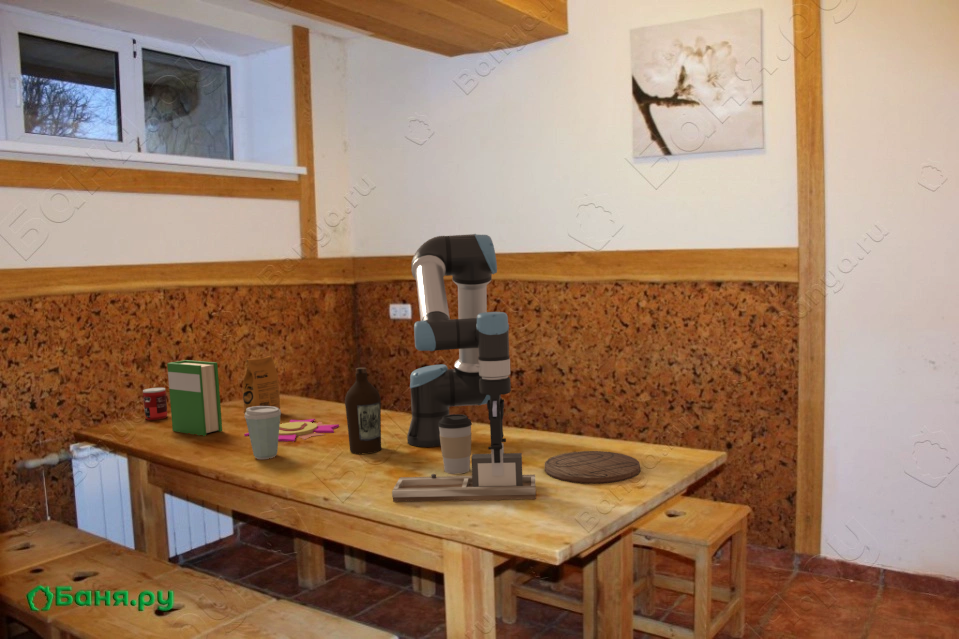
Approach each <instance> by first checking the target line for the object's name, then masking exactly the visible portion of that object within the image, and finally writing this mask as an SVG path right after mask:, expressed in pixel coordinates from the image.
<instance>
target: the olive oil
mask: <svg viewBox="0 0 959 639" xmlns="http://www.w3.org/2000/svg"><path fill="white" fill-rule="evenodd" d="M381 400H382V399H381V394H380V392H379V390H378V389H377V388H376V387H375V386H374V385H373V384H372V383H371V382H370V381H368V372H367V368H366V367H365V366H364V367H357V368H355V381H354V383H353V384H352V385H351V386H350V388H349V389H348V390H347V392H346V394H345V398H344V406H345V413H346V414H345V416H346V421H347V422H346V423H347V432H348V445H349V452H350V453H352V454H355V453H356V455H357V454H358V455H363V454H362V453H368V454H374V453H377V452H379V451H381V449H382V420H381V419H382V416H381V414H382V413H381V412H382V410H381V406H382V404H381V402H382V401H381ZM359 453H360V454H359Z"/></svg>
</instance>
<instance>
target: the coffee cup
mask: <svg viewBox="0 0 959 639" xmlns="http://www.w3.org/2000/svg"><path fill="white" fill-rule="evenodd" d="M472 425H473V423H472V420H471V419H470V418H469V417H468V415H466V414H461V413H460V414H459V413H458V414H457V413H455V414H454V413H453V414H449V415H446V416H443V417H442V420H440V421H439V425H438V426H439V430H440V443H441V446H440V449H441V456H442V463H443V468H444V469H443V470H444V471H443V472H445V473H447V474H452V475H458V474H464V473H465V474H466V473H468V472H469V471H470V469H471V456H472Z"/></svg>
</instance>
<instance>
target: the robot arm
mask: <svg viewBox="0 0 959 639" xmlns="http://www.w3.org/2000/svg"><path fill="white" fill-rule="evenodd" d="M497 273H498V264H497V256H496V252H495V246H494V242H493V239H492V237H491V236H489V234H476V233H473V234H472V233H471V234H456V235H455V234H453V235H438V236H434V237H431V238H430V239H428V240H427V241H425V242H423V243H422V244H421V245H420V246H419V247H418V249H417V250H416V251H415V253H414V255H413V257H412V260H411V275H412V278H413V279H414V280H415V281H416V289H417V299H418V307H419V308H418V310H419V311H418V312H419V317H420V318H419V319H420V320H417V321H415V322H414V325H413V332H414V333H413V334H414V336H413V337H414V348H415V349H416V350H417V351H419V352H422V351H427V352H428V351H429V352H434V351H436V352H437V351H447V350H448V351H449V350H458V353H459V354H458V359H457V360H456V361H455V362H454V368H448V366H447V365H446V364H433V365H426V366H423V367H419V368H417V369H414V370H413V371H412V372H411V374H410V376H409V377H410V378H409V379H410V381H409V382H410V384H409V389H410V402H411V421H410V424H409V427H408V432H407V436H406V438H407V444H409V445H411V446H414V447H420V448H421V447H424V448H427V447H428V448H430V447H431V448H432V447H441V443H440V430H439V426H438V425H439V421H440V420H442V417H443V416H446V415H450V407H452V408H453V407H465V406H467V407H469V406H482V405H486V408H487V412H488V413H487V414H488V415H487V416H488V420H489V428H490V429H489V432H490V433H489V434H490V445H489V446H488V448H487V449H488V450H490V451H491V452H490V454H491V456H492V476H504V469H503V453H505V450H504V443H506V442H507V438H504V437H505V436H504V430H503V428H504V426H503V420H504V414H505V412H504V408H505V399H503V398H502V396H501V395H503V396H504V395H508V394H510V393H511V392H512V384H511V377H510V375H511V358H510V342H509V341H510V336H509V334H510V331H509V329H510V324H509V316H508V314H507V313H506V312H504V311H487V307H488V306H487V304H488V302H487V299H488V298H487V295H488V294H487V291H488V290H487V289H488V288H487V286H488V284H491V282H492V280H493V279H492V275H494V274H497ZM445 276H449V277H450V276H452V278H451V279H452V282H453V283H454V284H455V285H456V286H457V307H458V308H457V313H458V318H454V319H451V318H450V310H449V305H448V304H449V303H448V297H447V292H446V285H445V279H444V277H445Z"/></svg>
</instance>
